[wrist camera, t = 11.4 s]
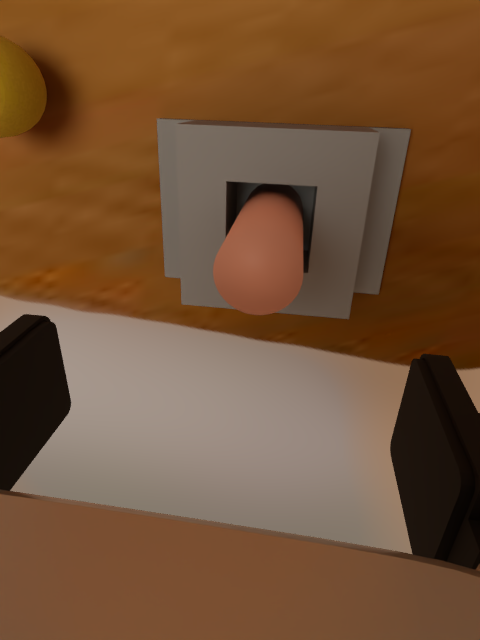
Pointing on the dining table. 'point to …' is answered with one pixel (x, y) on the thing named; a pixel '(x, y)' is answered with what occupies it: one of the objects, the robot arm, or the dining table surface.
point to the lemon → (19, 90)
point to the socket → (288, 169)
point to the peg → (263, 252)
